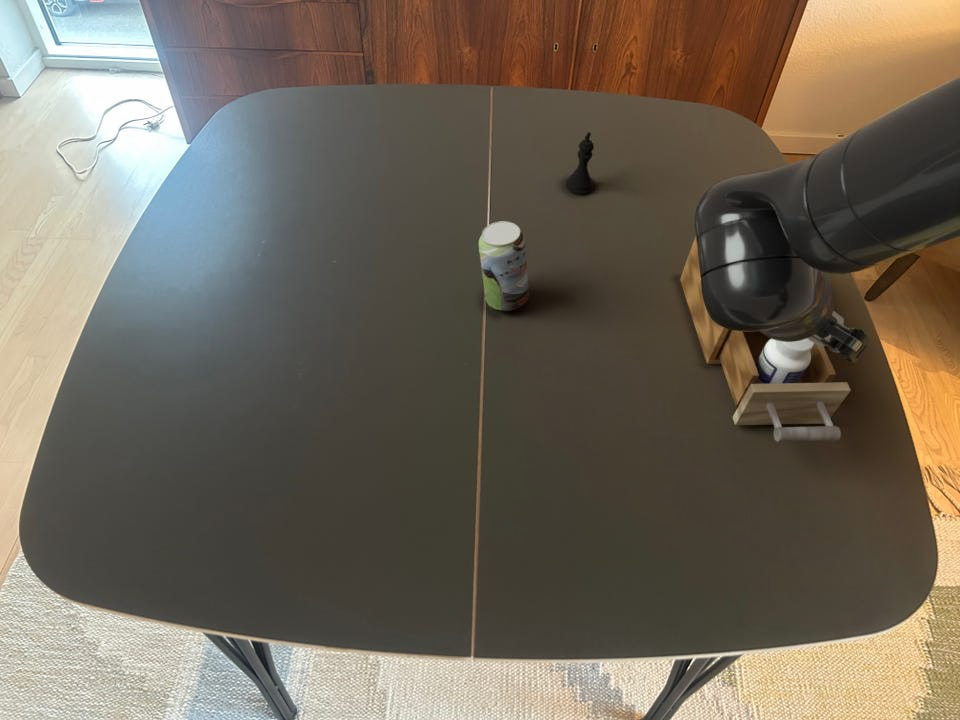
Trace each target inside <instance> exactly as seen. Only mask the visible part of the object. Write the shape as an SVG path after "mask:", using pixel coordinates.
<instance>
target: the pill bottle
mask: <svg viewBox="0 0 960 720" xmlns="http://www.w3.org/2000/svg"><path fill="white" fill-rule="evenodd" d="M813 345H814V343H813V342H811V341H810V340H808V339H807V338H806V339H803V340H800V341H794V342H783V341H777V340H774V339H770V340H769V341H768V342H767V344H766V345H765V347H764V349H763V351H762V353H761V354H760V356H759V358H758V360H757V362H756V364H755V366H756V368H757V371H758V374H759V377H758V378H757V380H756V382H755V384H779V383H798V382H799V380H800V378H801V377H802V375H803V374H804V372H805V370H806V369H807V367H808V365H809V363H810V361H811V354H810V351H811V349H812V347H813Z"/></svg>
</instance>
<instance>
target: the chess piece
mask: <svg viewBox="0 0 960 720" xmlns="http://www.w3.org/2000/svg"><path fill="white" fill-rule="evenodd" d="M591 135H592V133H591V132H589V131H588V132H587V133H586V135H585V136H584V139H583V140H581V141H580V142H579V144H578V151H577V158H578V166H577V167H576V169H575V170H574V171H573V173H571V174H570V176H569V177H568V179H567V180H566V182H565V188H566V190H567V191H568V192H570V193H571V194H574V195H578V196H585V195H588V194H590V193H591V192H592V191H593V188H594V184H593V181H592V178H591V176H590V172H589V170H588V169H589V168H588V163H589V161H590V160H591V159H592V158H593V151H594V148H595V146H594V145H595V144H594V142H593V141H592V140H591V139H590V138H591Z"/></svg>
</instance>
